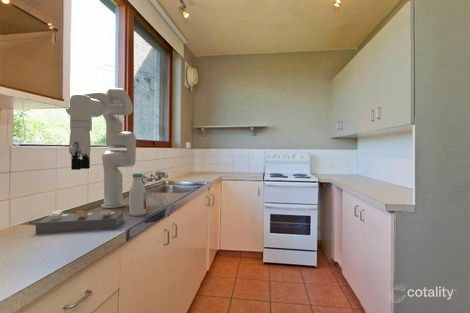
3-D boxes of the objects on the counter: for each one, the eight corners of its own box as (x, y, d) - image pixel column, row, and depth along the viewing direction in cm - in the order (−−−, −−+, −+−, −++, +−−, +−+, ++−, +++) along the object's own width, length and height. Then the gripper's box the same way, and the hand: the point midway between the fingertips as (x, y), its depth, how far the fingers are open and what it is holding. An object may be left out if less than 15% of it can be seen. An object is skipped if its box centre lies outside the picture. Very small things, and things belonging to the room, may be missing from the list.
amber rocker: (79, 215, 107) (79, 211, 108) (87, 214, 108) (87, 210, 108) (75, 215, 103) (75, 211, 103) (83, 215, 103) (84, 210, 104)
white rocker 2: (103, 214, 110) (103, 210, 110) (111, 213, 110) (111, 209, 110) (100, 214, 105) (100, 210, 105) (108, 213, 105) (108, 209, 106)
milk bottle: (140, 216, 124) (140, 174, 124) (125, 215, 125) (125, 174, 125) (149, 212, 131) (148, 173, 131) (135, 212, 133) (135, 173, 133)
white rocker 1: (54, 213, 105) (54, 210, 105) (63, 213, 106) (62, 209, 106) (49, 219, 101) (48, 215, 100) (58, 219, 101) (57, 215, 101)
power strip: (52, 223, 111) (52, 213, 111) (123, 219, 117) (123, 210, 117) (35, 233, 97) (35, 222, 97) (116, 228, 104) (116, 218, 104)
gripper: (78, 128, 112) (78, 168, 112) (61, 123, 95) (60, 170, 95) (97, 129, 114) (97, 168, 114) (83, 123, 97) (83, 169, 97)
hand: (81, 169), depth 104 cm, fingers open, 9 cm apart
